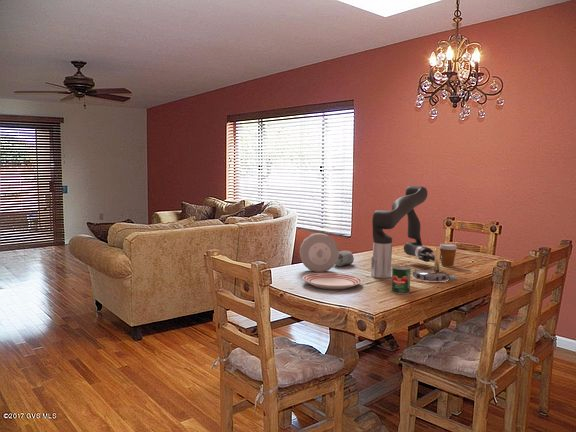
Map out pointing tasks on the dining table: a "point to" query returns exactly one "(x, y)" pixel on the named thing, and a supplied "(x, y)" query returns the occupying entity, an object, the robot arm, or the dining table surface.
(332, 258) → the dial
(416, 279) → the sprocket base plate
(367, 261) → the dining table surface
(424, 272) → the sprocket
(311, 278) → the dinner plate
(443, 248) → the disposable coffee cup
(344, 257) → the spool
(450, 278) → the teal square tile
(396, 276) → the canned tomato
